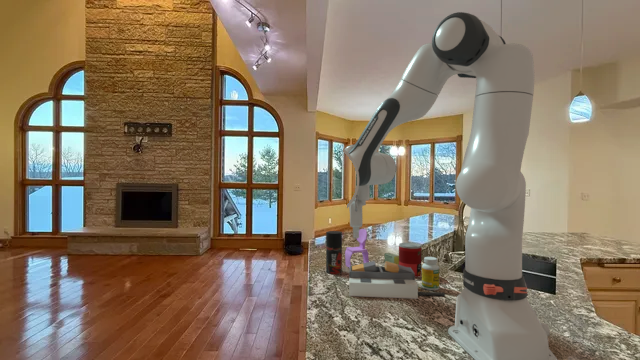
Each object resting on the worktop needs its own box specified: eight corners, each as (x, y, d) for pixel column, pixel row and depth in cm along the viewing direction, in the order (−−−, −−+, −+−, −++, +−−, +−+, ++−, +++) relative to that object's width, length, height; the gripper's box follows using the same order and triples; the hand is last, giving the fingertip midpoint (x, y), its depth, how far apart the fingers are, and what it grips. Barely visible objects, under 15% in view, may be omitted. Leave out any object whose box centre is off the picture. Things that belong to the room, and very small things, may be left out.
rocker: (377, 272, 98) (375, 264, 99) (354, 277, 99) (352, 270, 99) (376, 267, 103) (374, 260, 104) (353, 272, 104) (352, 265, 104)
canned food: (422, 278, 111) (422, 247, 111) (399, 276, 113) (399, 246, 113) (420, 272, 118) (420, 243, 118) (398, 270, 120) (398, 242, 120)
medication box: (384, 262, 133) (383, 253, 133) (388, 261, 134) (388, 252, 134) (404, 269, 122) (404, 259, 122) (409, 268, 124) (409, 258, 124)
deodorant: (328, 274, 115) (328, 233, 115) (324, 270, 121) (324, 231, 121) (344, 273, 116) (344, 233, 116) (338, 269, 122) (338, 230, 122)
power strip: (447, 299, 91) (447, 279, 91) (349, 295, 94) (349, 275, 94) (436, 285, 103) (436, 267, 103) (349, 282, 106) (349, 265, 106)
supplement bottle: (426, 283, 105) (426, 255, 105) (442, 287, 101) (442, 258, 101) (418, 287, 101) (418, 258, 101) (434, 292, 97) (434, 261, 97)
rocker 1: (409, 279, 97) (411, 272, 97) (385, 272, 98) (387, 265, 98) (406, 274, 102) (408, 267, 102) (383, 267, 103) (385, 260, 103)
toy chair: (343, 265, 128) (343, 228, 128) (363, 263, 131) (363, 227, 131) (351, 270, 120) (351, 231, 120) (372, 268, 123) (372, 230, 123)
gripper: (367, 196, 91) (367, 243, 91) (364, 193, 111) (364, 232, 111) (345, 196, 92) (345, 243, 92) (346, 193, 112) (346, 232, 112)
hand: (356, 237), depth 102 cm, fingers closed
